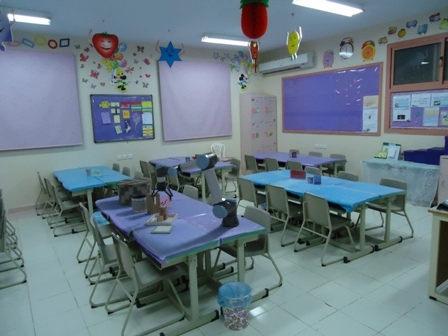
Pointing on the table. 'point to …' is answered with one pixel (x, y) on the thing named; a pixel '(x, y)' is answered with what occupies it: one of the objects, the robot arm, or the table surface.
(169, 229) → the board
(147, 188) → the storage box
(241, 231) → the table surface
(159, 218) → the clay cube
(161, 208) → the walnut box
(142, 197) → the planter
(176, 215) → the tray
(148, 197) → the wooden block
